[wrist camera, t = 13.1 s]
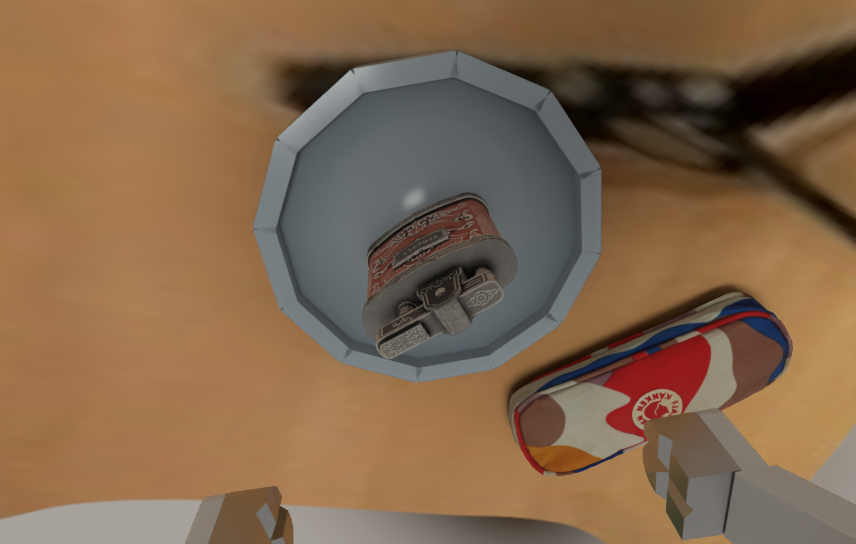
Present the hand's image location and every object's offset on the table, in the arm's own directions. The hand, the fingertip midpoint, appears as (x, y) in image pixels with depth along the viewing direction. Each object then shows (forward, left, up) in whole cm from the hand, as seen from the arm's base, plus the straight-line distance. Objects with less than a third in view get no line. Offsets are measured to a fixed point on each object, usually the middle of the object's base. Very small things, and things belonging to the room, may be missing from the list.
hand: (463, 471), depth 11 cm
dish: (-1, +3, -22) cm, 22 cm away
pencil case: (-14, +16, -22) cm, 31 cm away
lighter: (0, +3, -21) cm, 21 cm away
